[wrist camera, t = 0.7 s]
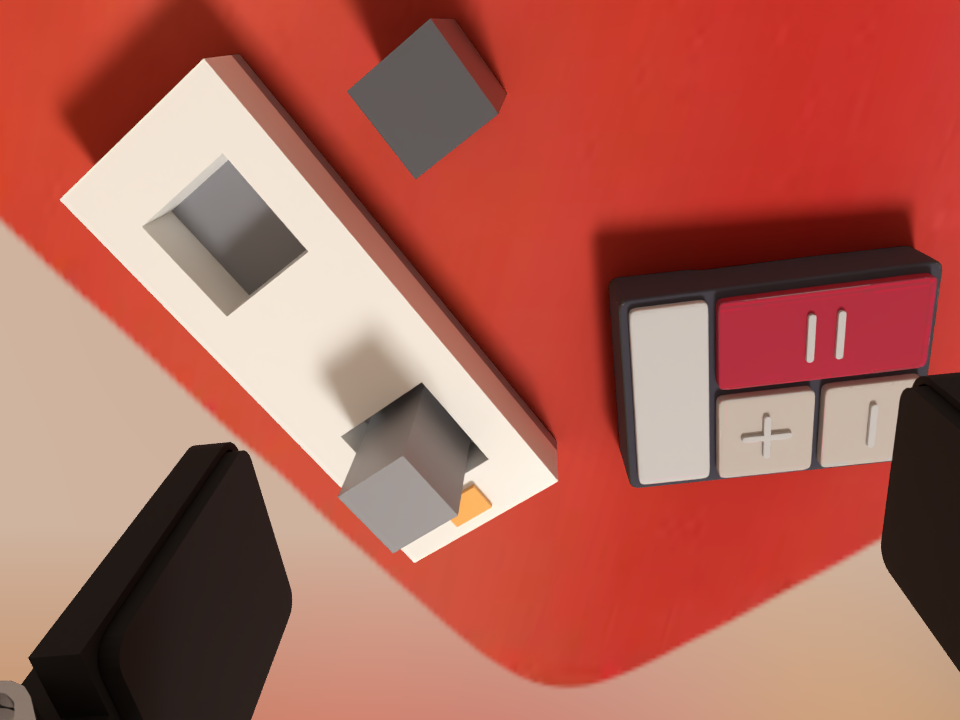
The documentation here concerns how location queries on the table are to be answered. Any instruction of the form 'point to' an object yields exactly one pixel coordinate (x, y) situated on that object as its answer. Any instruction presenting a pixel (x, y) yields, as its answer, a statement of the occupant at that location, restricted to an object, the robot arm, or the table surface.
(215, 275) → the power strip
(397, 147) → the plug
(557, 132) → the table surface
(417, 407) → the grey square peg
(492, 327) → the table surface
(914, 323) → the calculator
